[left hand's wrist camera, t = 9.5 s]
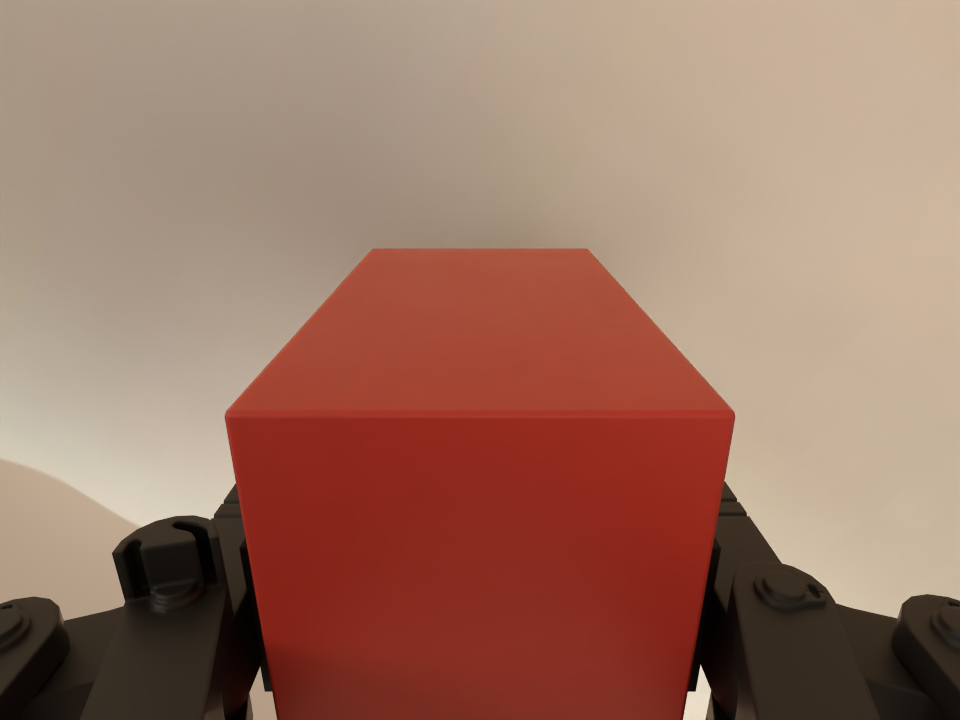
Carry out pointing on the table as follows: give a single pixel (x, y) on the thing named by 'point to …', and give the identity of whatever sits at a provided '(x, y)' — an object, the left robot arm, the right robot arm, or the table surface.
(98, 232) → the table surface
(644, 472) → the block
